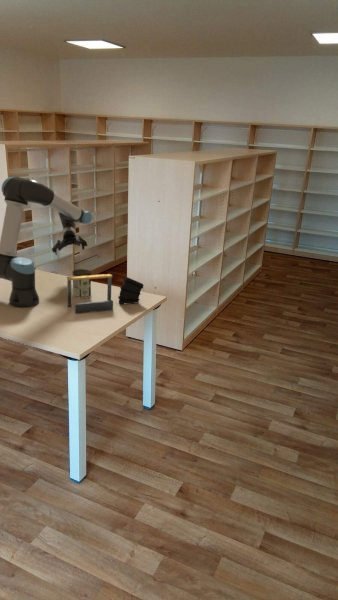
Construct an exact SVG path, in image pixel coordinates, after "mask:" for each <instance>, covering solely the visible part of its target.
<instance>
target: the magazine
mask: <svg viewBox="0 0 338 600" xmlns="http://www.w3.org/2000/svg"><path fill="white" fill-rule="evenodd" d="M142 289H144V284H143V283H142V282H140V281H137V280H134V279H133V278H130V277H128V276H126V277H125V278H123V282H122V285H121V286H120V290H119V295H118V297H117V298H118V303H119V304H120V305H125V304H124V303H131V304H135V303H134V302H138V303H139V301H141V300H140V296H141V291H142Z"/></svg>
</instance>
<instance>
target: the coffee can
mask: <svg viewBox="0 0 338 600" xmlns="http://www.w3.org/2000/svg"><path fill="white" fill-rule="evenodd" d="M88 275H92V271H91V270H89V269H83V268H82V269H81V268H80V269H74V270H73V271H72V277H73V276H88ZM72 296H73V297H74V298H77V299H88V298H90V297H92V279H83V280H72Z"/></svg>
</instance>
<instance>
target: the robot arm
mask: <svg viewBox="0 0 338 600" xmlns="http://www.w3.org/2000/svg"><path fill="white" fill-rule="evenodd" d="M1 192H2V195H3V197H4V202H5V204H6V207H5V213H4V219H3V225H2V230H1V234H0V235H1V236H0V279H3V280H6V281H10V282H11V293H10V295H9V299H8V302H9V305H10V306H12V307H17V308H30V307H34V306H36V305H38V304H39V303H40V297H39V294H38V291H37V289H36V268H35V262H34V261H33V260H32V259H30V258H27V257H21V256H20V257H19V255H18V254H17V249H18V242H19V237H20V231H21V225H22V220H23V214H24V209H25V208H27V207H28V204H29V203H34V204H39V205H42V206H43V207H49V208H51V209H52V210H55V211H57V212H58V216H59V218H60V222H61V226H62V232H63V233H62V239H61V240H60V239H58V240H57V242H56V243H55V244H54V245H53V246H52V248H51V251H52V253H54V254H55V255H56V258H57V259H60V251H61V250H62V249H64V248H66V247H68V246H70V245H75V246H79V247H80V254H82V255H83V254H84V250H85V247H87V246H88V243H87V241H86V240H85V239H83V238H82V237H81V235H78V237H77V236H76V235H77V233H76V231H77V230H76V228H77V225H76V223H80V224H85V225H87V224H90V223H91V222H92V219H93V214H92V213H91V212H90V211H88V210H84V209H82V208H80V207H78V206H76V205H75V204H73V203H71V202H69V201H68V200H66V199H65V198H63V197H61V196H59V194H56V193H55V192H54V191H53V189H51V188H50V187H48V186H47V185H45V184H43V183H41V182H40V181H38V180H35V179H32V178H25V177H20V176H10V177H7V178H6V179H5V180H4V181H3V182H2V184H1Z"/></svg>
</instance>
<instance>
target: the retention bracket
mask: <svg viewBox="0 0 338 600" xmlns="http://www.w3.org/2000/svg"><path fill="white" fill-rule="evenodd" d="M112 278H113V274H111V273H107V274H106V273H105V274H104V273H103V274H91V275H88V276H73V275H72V276H67V277H66V279H67V280H66V281H67V282H66V285H67V286H66V287H67V288H66V289H67V295H66V296H67V309H71V308H72V281H73V280H83V279H91V280H95V279H107V293H106V294H107V295H106V296H107V299H106V300H99V301H90V302H78V303H74V313H75V314H76V315H77V314H86V313H87V314H88V313H96V312H105V311H106V310H107V311H113V310H114V300H113V299H112V281H113V279H112Z"/></svg>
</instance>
